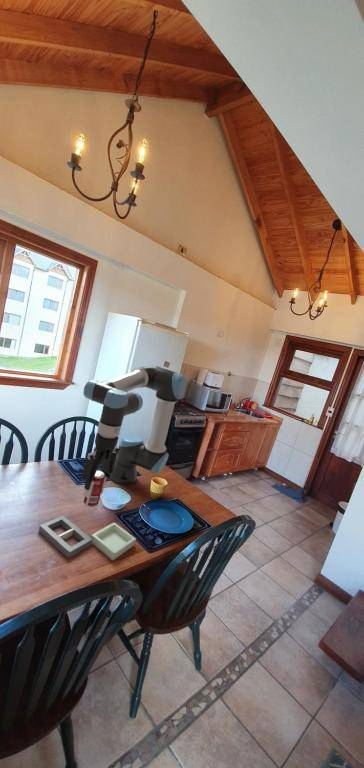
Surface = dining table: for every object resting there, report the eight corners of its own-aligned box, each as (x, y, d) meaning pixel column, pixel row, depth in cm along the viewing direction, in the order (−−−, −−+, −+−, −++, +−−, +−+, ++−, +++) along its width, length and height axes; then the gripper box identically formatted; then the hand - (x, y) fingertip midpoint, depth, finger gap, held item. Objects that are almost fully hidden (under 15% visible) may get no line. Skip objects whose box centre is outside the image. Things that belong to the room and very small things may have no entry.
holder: (38, 531, 113) (39, 525, 113) (61, 520, 122) (62, 515, 121) (68, 558, 105) (69, 552, 105) (90, 545, 114) (92, 539, 113)
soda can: (85, 497, 113) (92, 468, 111) (99, 500, 113) (106, 471, 111) (81, 505, 108) (89, 475, 106) (96, 509, 108) (104, 478, 106)
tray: (89, 541, 115) (91, 534, 115) (112, 528, 126) (114, 522, 125) (112, 560, 110) (114, 553, 109) (134, 545, 120) (136, 538, 119)
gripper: (95, 443, 96) (79, 508, 100) (133, 434, 112) (118, 491, 116) (79, 433, 100) (65, 496, 104) (118, 426, 116) (104, 482, 120)
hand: (93, 493), depth 110 cm, fingers closed on soda can, 5 cm apart
